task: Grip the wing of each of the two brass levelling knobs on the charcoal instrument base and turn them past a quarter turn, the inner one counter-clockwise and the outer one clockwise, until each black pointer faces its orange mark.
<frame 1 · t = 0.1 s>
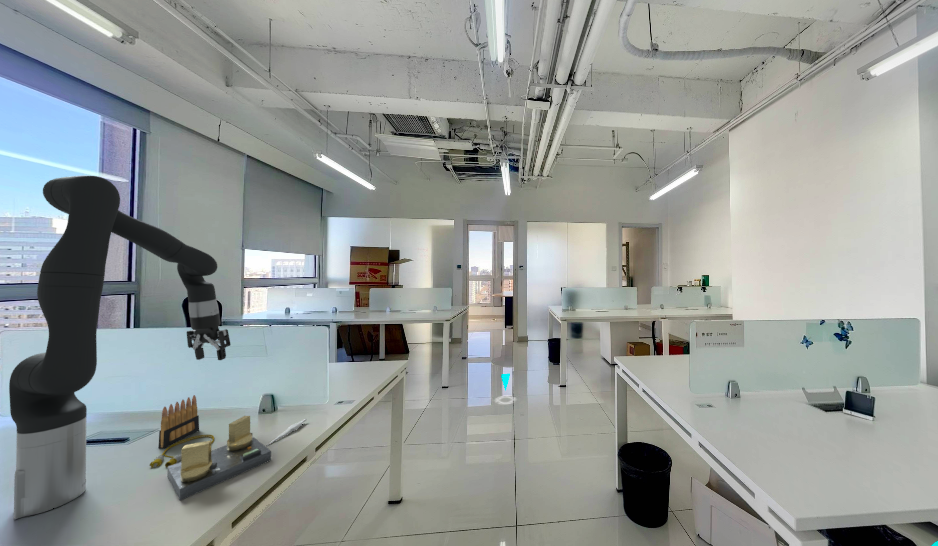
hand: (211, 359, 103), 22 cm above the table, tool pointing down, fingers open, 8 cm apart
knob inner: (199, 458, 72), point 6 cm above the table, hinge at 0.0°
stylus pen: (287, 435, 95), on the table
ammunition clip: (180, 439, 93), on the table
knob outer: (241, 431, 84), point 6 cm above the table, hinge at 0.0°
extension cord: (183, 453, 86), on the table
instrument base: (221, 468, 78), on the table
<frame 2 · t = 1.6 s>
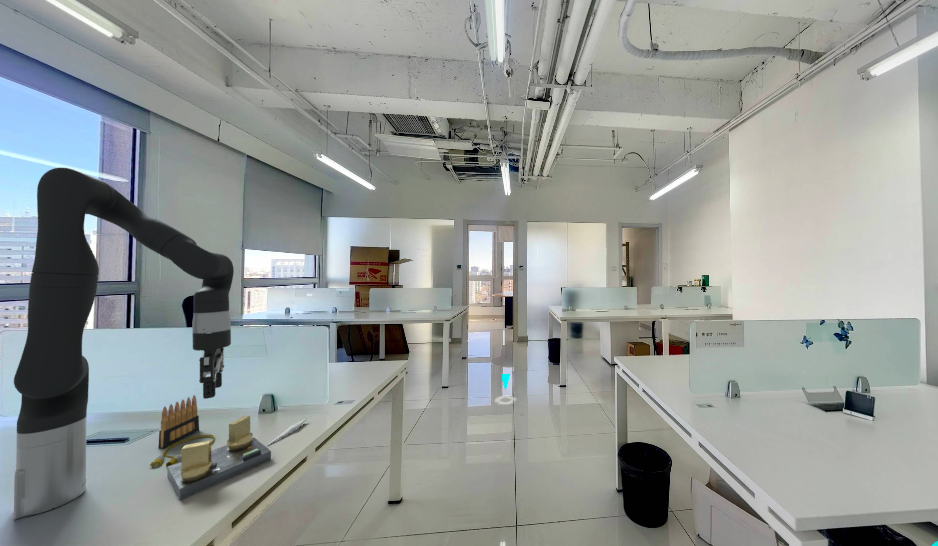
hand: (213, 392, 77), 20 cm above the table, tool pointing down, fingers open, 8 cm apart
nothing on the table moved.
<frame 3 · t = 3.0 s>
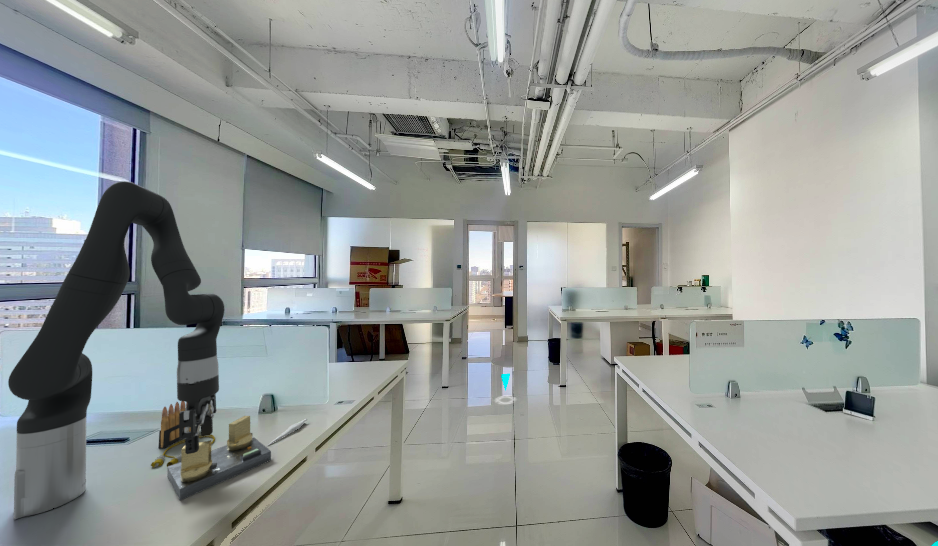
hand: (200, 443, 72), 10 cm above the table, tool pointing down, fingers open, 8 cm apart
nothing on the table moved.
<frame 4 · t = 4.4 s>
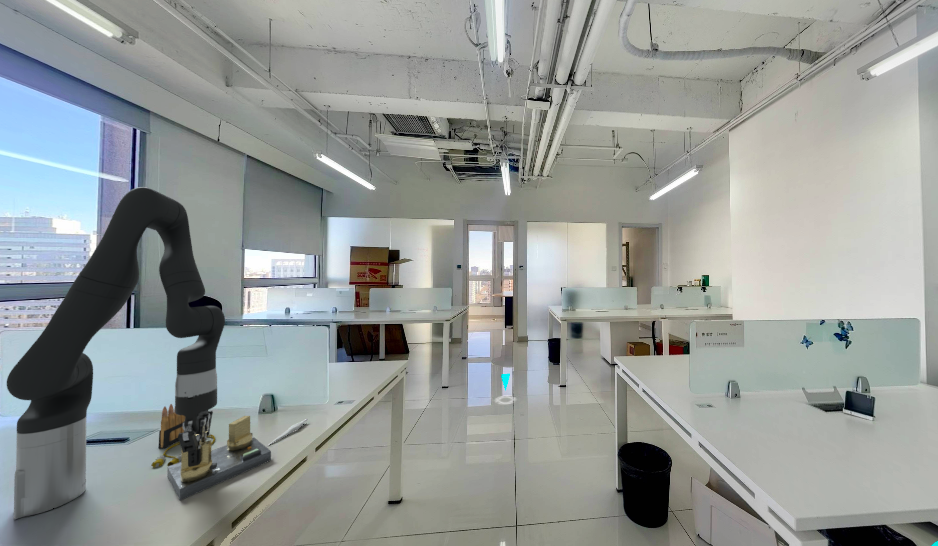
hand: (196, 462, 71), 6 cm above the table, tool pointing down, fingers closed on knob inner, 2 cm apart
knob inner: (199, 458, 72), point 6 cm above the table, hinge at 0.1°, touching gripper
everything else where it was.
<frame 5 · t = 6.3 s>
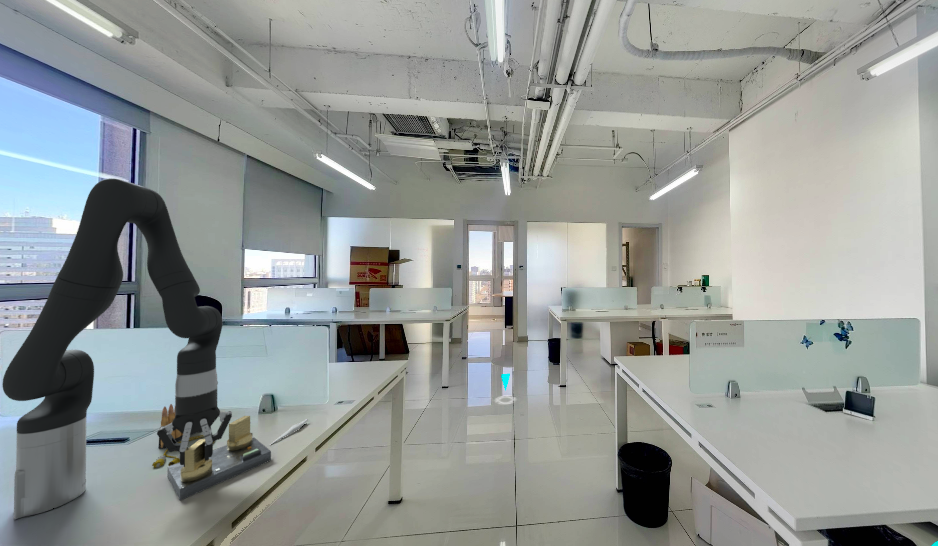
hand: (197, 461, 71), 6 cm above the table, tool pointing down, fingers closed on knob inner, 3 cm apart
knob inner: (198, 458, 72), point 6 cm above the table, hinge at 79.1°, touching gripper
everything else where it was.
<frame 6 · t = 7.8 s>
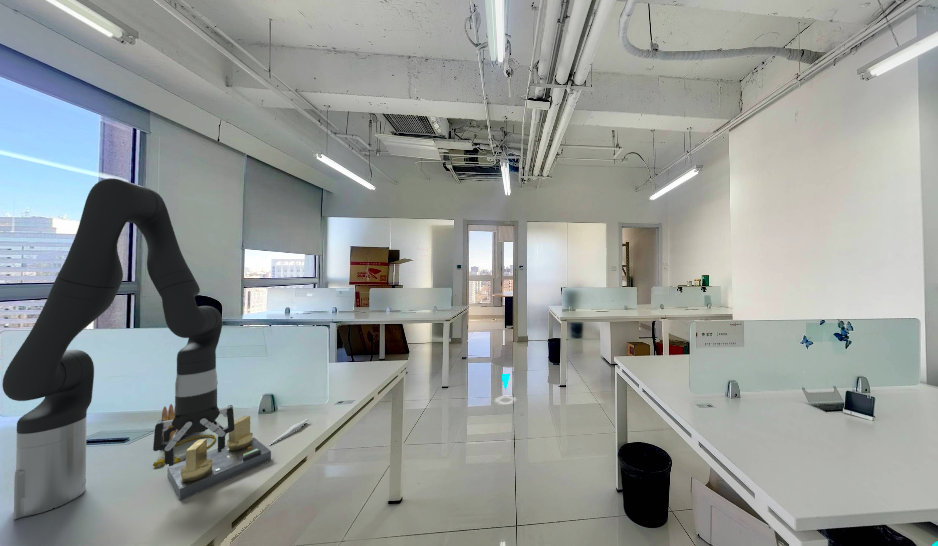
hand: (196, 457, 71), 7 cm above the table, tool pointing down, fingers open, 8 cm apart
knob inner: (197, 458, 72), point 6 cm above the table, hinge at 85.3°
everything else where it was.
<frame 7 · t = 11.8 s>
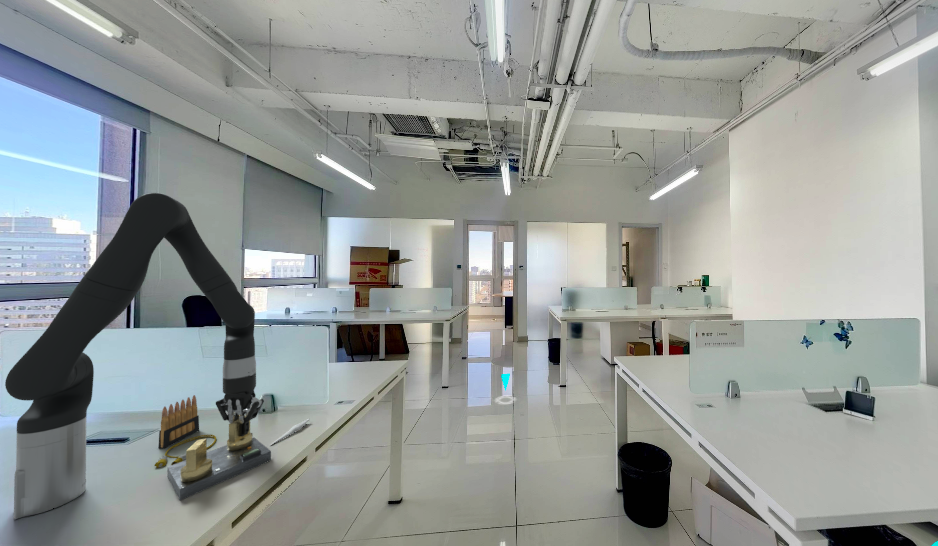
hand: (239, 434, 84), 6 cm above the table, tool pointing down, fingers closed on knob outer, 2 cm apart
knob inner: (197, 458, 72), point 6 cm above the table, hinge at 86.2°
knob outer: (241, 431, 84), point 6 cm above the table, hinge at 0.0°, touching gripper
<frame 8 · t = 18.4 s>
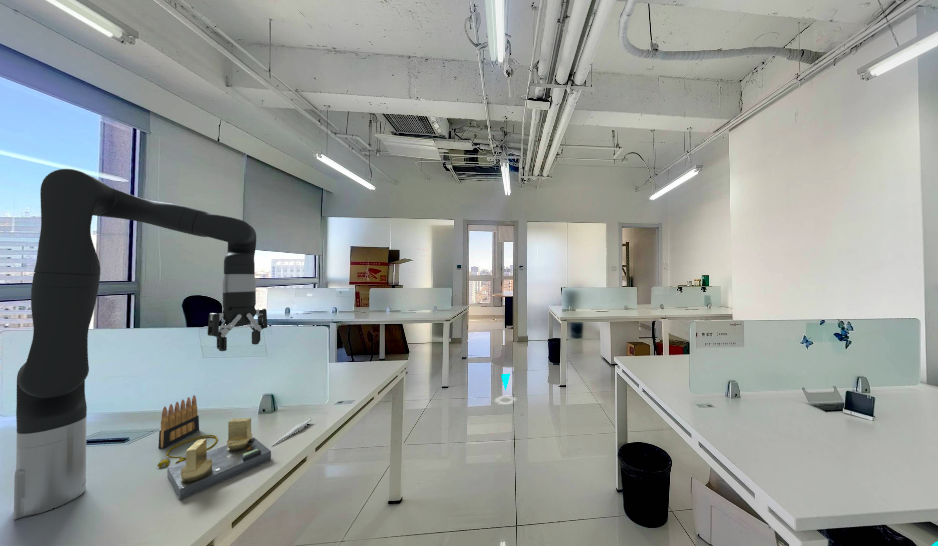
hand: (239, 347, 85), 30 cm above the table, tool pointing down, fingers open, 8 cm apart
knob outer: (241, 432, 84), point 6 cm above the table, hinge at -81.0°
at the end: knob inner at +86° (first picture: +0°); knob outer at -81° (first picture: +0°) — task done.
